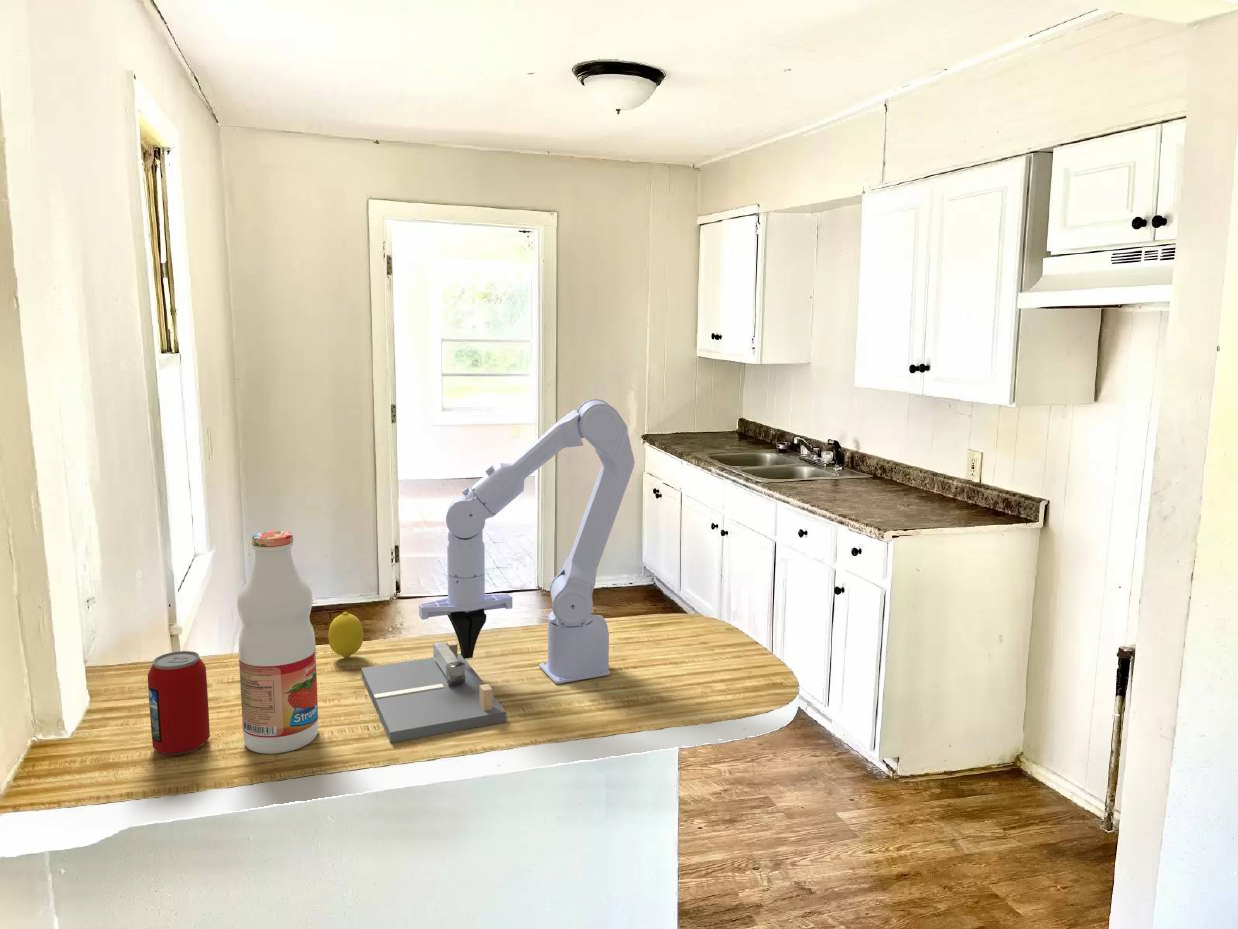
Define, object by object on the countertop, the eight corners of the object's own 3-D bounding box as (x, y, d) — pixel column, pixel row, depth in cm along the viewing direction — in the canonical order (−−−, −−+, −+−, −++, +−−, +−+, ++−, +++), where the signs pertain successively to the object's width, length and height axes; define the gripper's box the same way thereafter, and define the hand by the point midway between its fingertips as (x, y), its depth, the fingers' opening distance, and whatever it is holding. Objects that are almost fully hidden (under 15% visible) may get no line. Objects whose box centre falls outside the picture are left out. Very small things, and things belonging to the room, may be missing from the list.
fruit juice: (251, 726, 119) (240, 527, 114) (322, 720, 121) (315, 525, 116) (236, 759, 110) (224, 544, 105) (314, 752, 112) (305, 542, 107)
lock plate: (461, 662, 143) (460, 636, 142) (506, 721, 121) (505, 691, 121) (361, 677, 136) (360, 649, 135) (390, 743, 114) (389, 711, 114)
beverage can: (166, 734, 116) (160, 649, 114) (218, 733, 116) (213, 648, 115) (143, 759, 109) (136, 669, 107) (198, 758, 110) (192, 668, 108)
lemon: (353, 666, 140) (352, 619, 139) (322, 663, 141) (320, 616, 140) (370, 653, 146) (368, 608, 144) (340, 651, 147) (338, 605, 145)
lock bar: (467, 683, 129) (467, 667, 129) (449, 686, 128) (448, 670, 128) (447, 656, 140) (447, 641, 140) (430, 658, 139) (430, 643, 138)
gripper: (503, 562, 141) (503, 641, 143) (414, 571, 135) (415, 654, 137) (516, 573, 135) (516, 656, 137) (424, 583, 129) (425, 670, 131)
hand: (466, 656), depth 137 cm, fingers closed
